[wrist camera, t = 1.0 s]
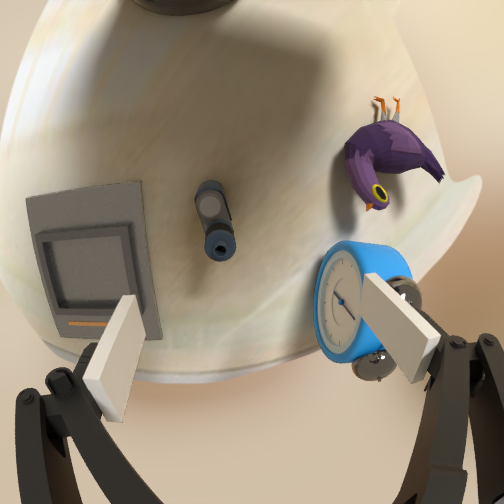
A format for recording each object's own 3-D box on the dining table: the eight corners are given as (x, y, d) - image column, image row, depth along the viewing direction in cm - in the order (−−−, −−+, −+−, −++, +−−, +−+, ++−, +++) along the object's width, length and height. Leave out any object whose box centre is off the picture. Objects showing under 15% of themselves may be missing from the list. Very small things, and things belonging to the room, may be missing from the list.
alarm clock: (326, 225, 34) (395, 277, 20) (369, 231, 35) (446, 280, 21) (304, 320, 38) (345, 401, 24) (344, 320, 39) (394, 393, 25)
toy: (416, 168, 33) (448, 180, 27) (346, 202, 34) (372, 220, 28) (392, 90, 28) (425, 87, 22) (313, 118, 29) (337, 118, 23)
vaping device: (210, 228, 32) (208, 272, 21) (196, 183, 30) (184, 203, 19) (232, 221, 32) (243, 261, 21) (218, 176, 30) (221, 191, 19)
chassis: (28, 197, 27) (20, 200, 26) (141, 181, 29) (136, 182, 27) (62, 333, 34) (57, 341, 32) (162, 336, 36) (160, 345, 34)
